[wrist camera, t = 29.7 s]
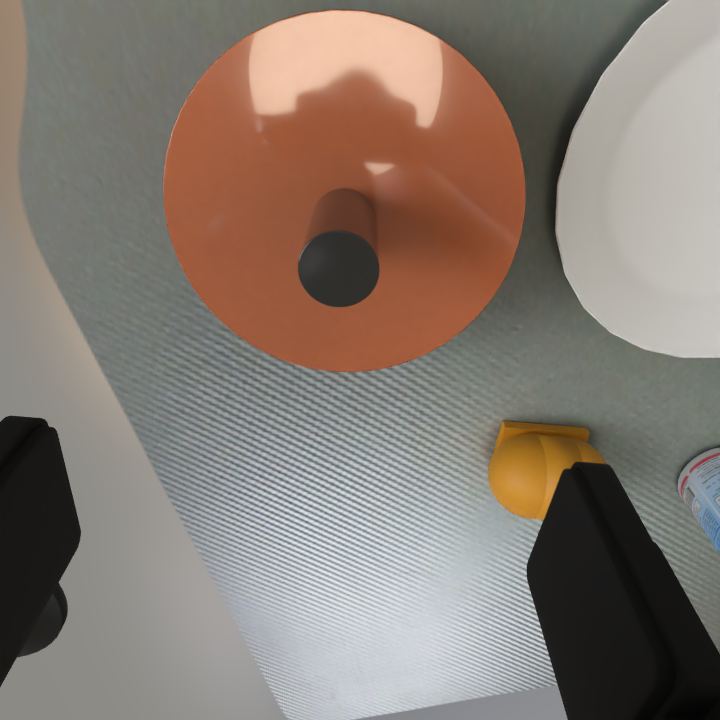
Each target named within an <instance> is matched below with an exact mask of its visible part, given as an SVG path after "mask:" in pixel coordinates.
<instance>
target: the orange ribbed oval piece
mask: <svg viewBox="0 0 720 720" xmlns="http://www.w3.org/2000/svg"><path fill="white" fill-rule="evenodd" d="M589 436H590V433H589V432H588V430H587V428H584V427H572V426H560V425H548V424H536V423H524V422H512V421H502V425H501V428H500V432H499V435H498V439H497V442H496V446H495V449H494V453H493V456H492V458H491V460H490V463H489V469H488V479H489V485H490V488H491V490H492V493H493V495H494V496H495V498H496V499H497V501H498V502H499V503H500V504H501V505H502V506H503V507H504V508H505V509H507V510H508V511H510V512H511V513H513V514H515V515H518V516H520V517H523V518H529V519H540V520H544V518H545V515H546V513H547V510H548V507H549V505H550V502H551V500H552V497H553V494H554V492H555V489H556V486H557V484H558V481H559V478H560V476H561V473H562V471H563V470H564V469H567V468H568V469H571V467H572V465H573V464H574V463H575V462H590V463H603V464H607V463H606V462H605V460H604V458H603V457H602V455H601V454H600V453H599V452H598V451H597V450H596V449H595V448H594V447H592V446H591V445H589V444H588V443H587V441H588V439H589Z"/></svg>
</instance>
